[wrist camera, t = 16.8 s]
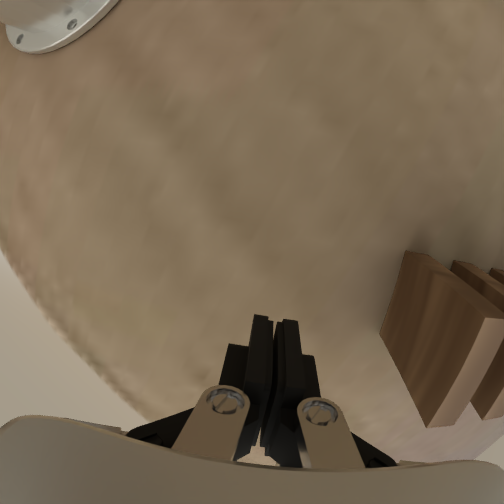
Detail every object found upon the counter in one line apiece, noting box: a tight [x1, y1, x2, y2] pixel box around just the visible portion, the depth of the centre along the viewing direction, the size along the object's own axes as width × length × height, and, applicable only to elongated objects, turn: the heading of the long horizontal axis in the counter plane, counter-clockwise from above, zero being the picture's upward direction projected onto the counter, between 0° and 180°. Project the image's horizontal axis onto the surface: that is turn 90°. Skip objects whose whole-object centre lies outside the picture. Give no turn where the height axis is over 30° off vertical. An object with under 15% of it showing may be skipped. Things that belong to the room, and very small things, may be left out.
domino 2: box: [450, 260, 504, 421], centre depth 14 cm, size 2×6×9 cm, turn 172°
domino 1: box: [380, 251, 504, 428], centre depth 14 cm, size 2×6×9 cm, turn 172°
